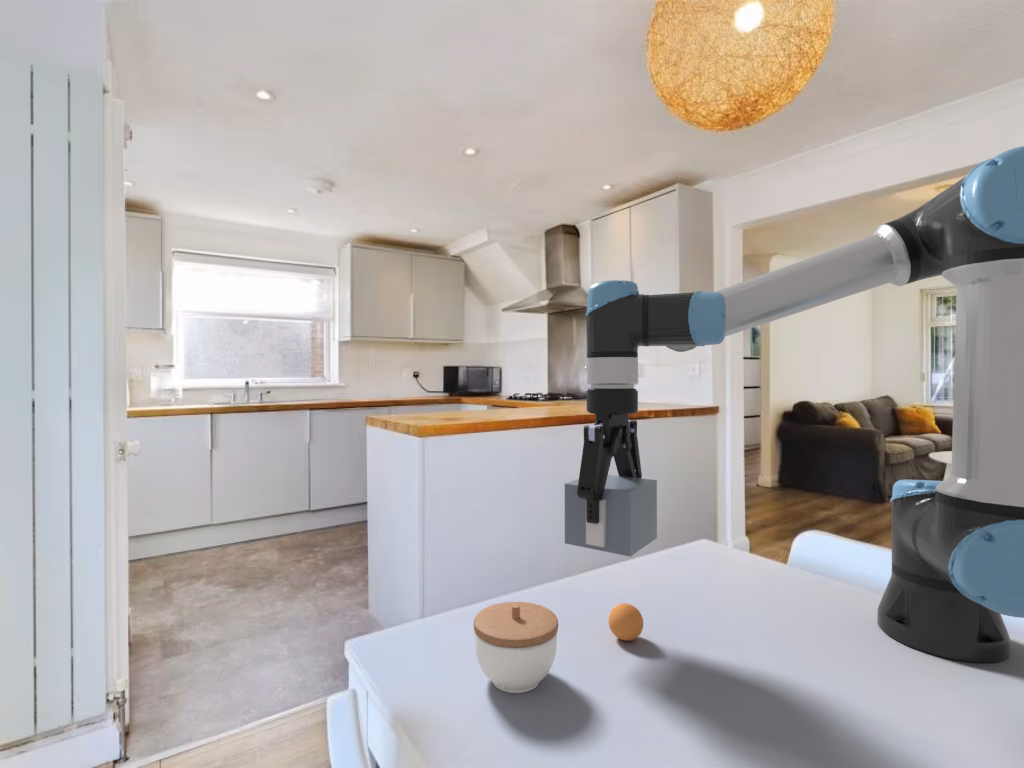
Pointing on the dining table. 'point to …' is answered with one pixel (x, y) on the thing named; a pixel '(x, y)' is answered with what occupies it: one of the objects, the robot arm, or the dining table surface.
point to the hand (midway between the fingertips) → (612, 535)
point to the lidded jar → (515, 644)
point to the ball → (625, 622)
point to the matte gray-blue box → (616, 515)
